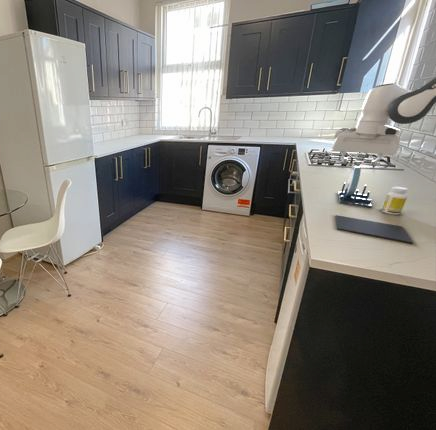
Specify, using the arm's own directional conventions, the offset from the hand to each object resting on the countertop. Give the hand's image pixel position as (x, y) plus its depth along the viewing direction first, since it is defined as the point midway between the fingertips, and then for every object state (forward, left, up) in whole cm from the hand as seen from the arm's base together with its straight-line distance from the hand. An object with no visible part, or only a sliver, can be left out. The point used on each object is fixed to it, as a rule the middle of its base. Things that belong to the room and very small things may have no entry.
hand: (358, 163), depth 115 cm
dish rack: (-2, 0, -16) cm, 16 cm away
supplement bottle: (-13, +10, -16) cm, 23 cm away
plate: (0, 0, -14) cm, 14 cm away
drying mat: (-4, +34, -16) cm, 38 cm away
